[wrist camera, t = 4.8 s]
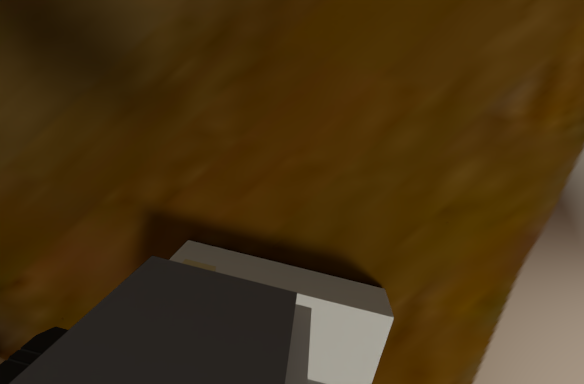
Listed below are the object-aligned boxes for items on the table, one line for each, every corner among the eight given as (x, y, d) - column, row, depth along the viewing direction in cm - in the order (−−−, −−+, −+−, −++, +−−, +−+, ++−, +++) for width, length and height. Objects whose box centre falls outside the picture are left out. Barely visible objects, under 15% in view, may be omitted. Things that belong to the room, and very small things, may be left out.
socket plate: (188, 240, 30) (164, 264, 25) (384, 288, 29) (395, 322, 25) (161, 401, 34) (136, 446, 29) (333, 446, 33) (335, 499, 29)
